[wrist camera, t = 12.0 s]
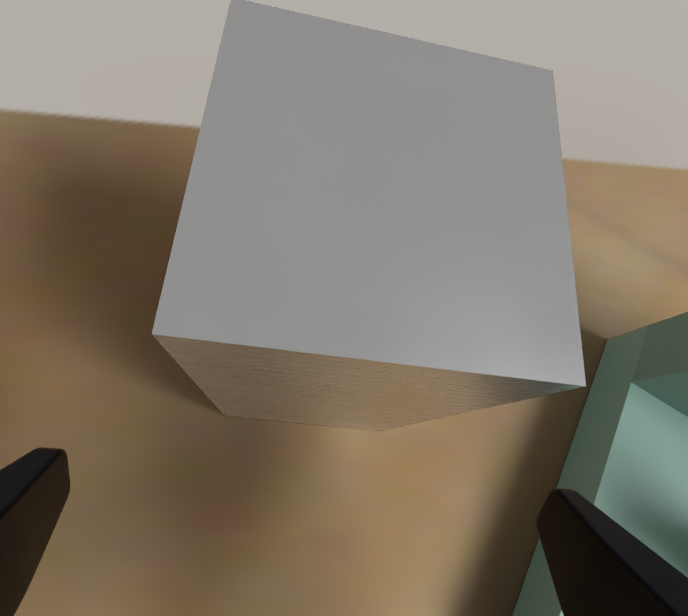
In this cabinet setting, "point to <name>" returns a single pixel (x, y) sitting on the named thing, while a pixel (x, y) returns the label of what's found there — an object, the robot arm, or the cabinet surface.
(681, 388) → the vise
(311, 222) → the gray upright column
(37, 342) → the cabinet surface
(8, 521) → the robot arm
